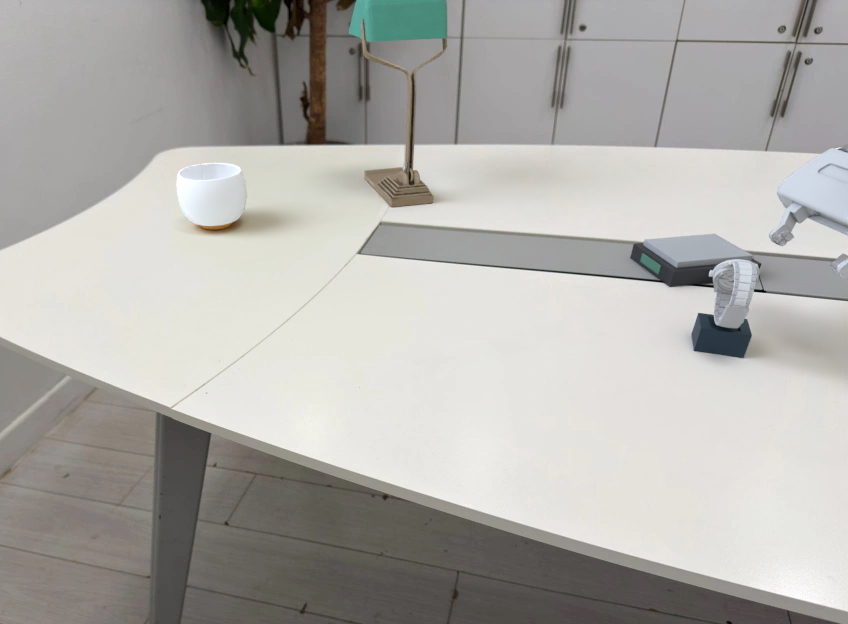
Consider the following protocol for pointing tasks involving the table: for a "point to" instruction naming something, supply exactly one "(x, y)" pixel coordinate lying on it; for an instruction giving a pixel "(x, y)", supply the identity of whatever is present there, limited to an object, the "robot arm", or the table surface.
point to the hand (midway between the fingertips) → (803, 256)
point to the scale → (686, 257)
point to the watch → (728, 310)
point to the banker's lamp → (407, 20)
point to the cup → (212, 194)
